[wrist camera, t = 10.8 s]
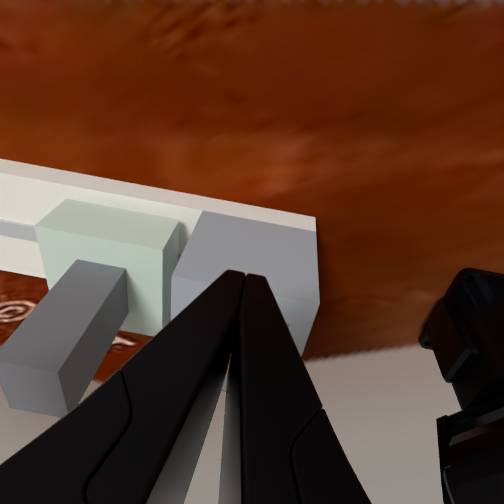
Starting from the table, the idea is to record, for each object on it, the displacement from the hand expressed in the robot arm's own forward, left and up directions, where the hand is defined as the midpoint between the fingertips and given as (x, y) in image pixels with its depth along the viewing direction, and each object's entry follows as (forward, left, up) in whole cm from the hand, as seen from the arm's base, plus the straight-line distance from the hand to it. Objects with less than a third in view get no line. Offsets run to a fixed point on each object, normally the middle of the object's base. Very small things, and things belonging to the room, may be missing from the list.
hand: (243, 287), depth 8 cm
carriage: (+7, +8, -10) cm, 15 cm away
